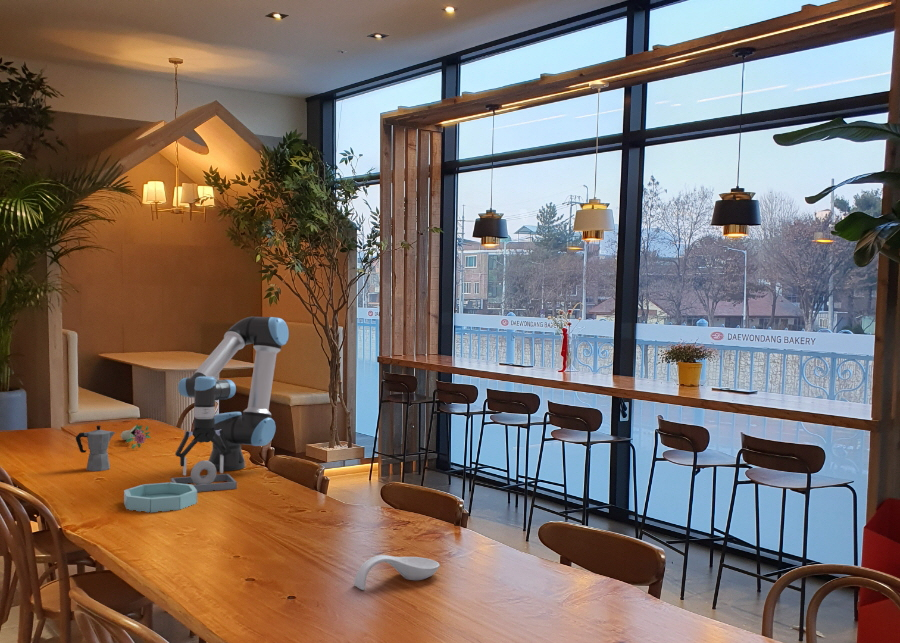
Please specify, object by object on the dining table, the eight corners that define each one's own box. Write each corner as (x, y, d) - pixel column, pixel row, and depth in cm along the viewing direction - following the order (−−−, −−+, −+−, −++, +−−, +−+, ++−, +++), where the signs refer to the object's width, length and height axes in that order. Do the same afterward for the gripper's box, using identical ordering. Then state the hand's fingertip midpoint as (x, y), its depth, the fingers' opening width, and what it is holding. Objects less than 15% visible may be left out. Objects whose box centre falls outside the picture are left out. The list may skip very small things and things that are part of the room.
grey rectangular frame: (228, 480, 326) (228, 473, 326) (236, 488, 312) (236, 482, 312) (170, 484, 316) (170, 478, 316) (176, 493, 302) (177, 486, 302)
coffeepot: (111, 465, 349) (111, 422, 348) (118, 469, 342) (118, 425, 341) (72, 469, 339) (72, 425, 339) (78, 473, 332) (79, 428, 331)
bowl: (189, 493, 304) (189, 480, 303) (200, 507, 283) (200, 494, 283) (122, 498, 293) (122, 486, 293) (128, 514, 273) (128, 501, 273)
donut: (192, 489, 309) (192, 462, 309) (188, 487, 312) (189, 461, 312) (217, 485, 316) (218, 459, 316) (214, 484, 319) (214, 458, 318)
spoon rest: (422, 566, 227) (423, 540, 227) (448, 579, 218) (448, 552, 217) (346, 583, 213) (347, 555, 213) (370, 597, 203) (371, 568, 203)
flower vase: (133, 455, 409) (153, 450, 381) (108, 449, 403) (126, 445, 375) (139, 431, 413) (160, 425, 384) (115, 426, 406) (133, 419, 378)
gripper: (171, 420, 304) (170, 477, 305) (239, 417, 315) (238, 473, 316) (168, 417, 311) (167, 473, 311) (235, 415, 322) (234, 469, 322)
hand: (203, 473), depth 314 cm, fingers open, 13 cm apart
